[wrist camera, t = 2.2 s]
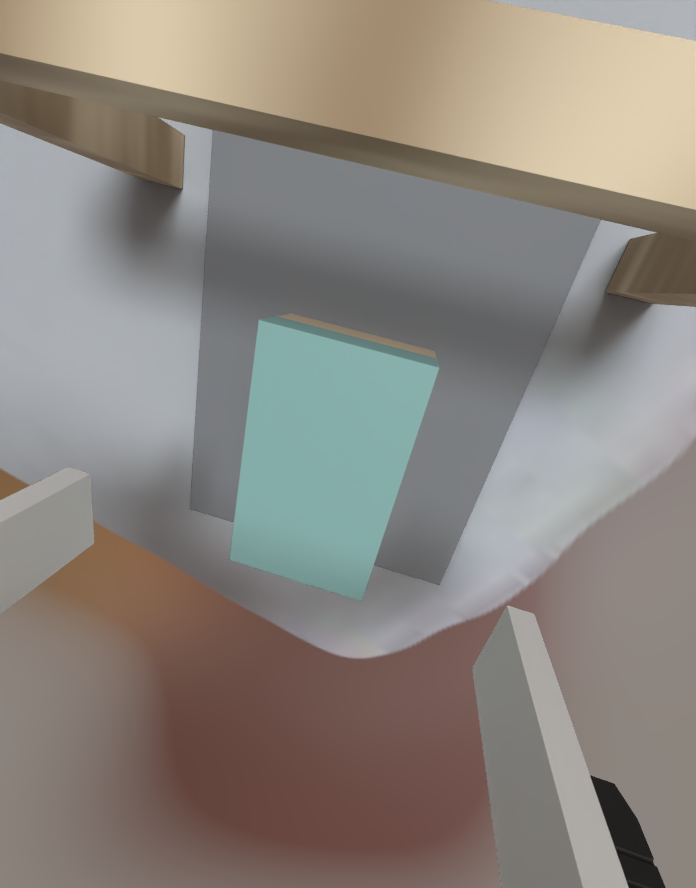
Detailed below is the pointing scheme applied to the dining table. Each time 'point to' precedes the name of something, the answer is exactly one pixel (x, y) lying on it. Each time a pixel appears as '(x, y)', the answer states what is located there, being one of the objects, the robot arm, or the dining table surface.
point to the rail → (383, 101)
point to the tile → (325, 449)
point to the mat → (380, 313)
